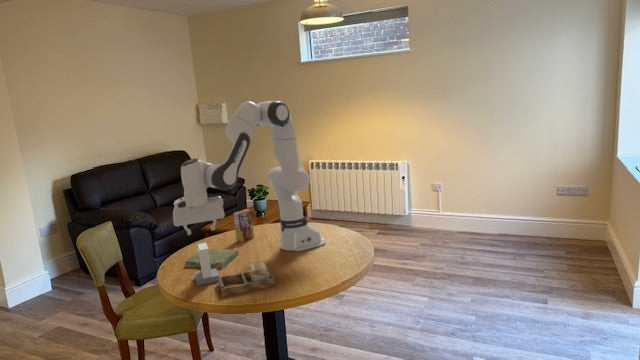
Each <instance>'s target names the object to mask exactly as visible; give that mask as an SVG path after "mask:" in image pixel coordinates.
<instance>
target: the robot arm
mask: <svg viewBox="0 0 640 360" xmlns="http://www.w3.org/2000/svg"><path fill="white" fill-rule="evenodd" d="M257 126H258V127H261V126H262V127H270V129H271V135H272V136H271V137H272V138H271V139H272V146H273V147H272V148H273V156H274V157H275V159H276V160H277V161H278V164H279V166H275V167H273V168H271V169H270V170H269V172H268V174H267V181H268V184H270V186H271V187H272V190H274V194H275V196H276V199H277V203H278V207H279V216H280V217H279V229H280V233H281V234H280V235H281V237H280V244H279V248H280V249H281V250H284V251H295V252H301V251H306V250H310V249H314V248H317V247H321V246H325V245H326V243H327V242H326V239H325V238H324V237H322V236H321V233H320V231H319V230H318V229H317V228H316V227H315V226H313V225H312V224H310V222H311V219H310V218H309V217H306V216H305V215H304V210H303V202H302V199H301V198H300V197H299V196H298V192H303V191H305V190H306V189H308V187H309V185H310V181H311V177H310V175H309V173H308V172H307V171H306V170H305V168H304V166H303V164H302V162H301V159H300V156H299V153H298V151H299V150H298V143H297V134H296V127H295V125H294V121H293V118H292V117H291V116H290V109H289V108H288V106H287V104H286V103H285V102H283V101H280V100H265V101H261V102H260V101H259V102H253V101H245V102H242V103H241V105H240V106H238V108H237V109H236V110H235V112H234V113H233V114H232V116H231V117H230V120H229V121H228V123H227V125H226V128H225V135H226V137H227V139H228V140H229V141H230V142H232V147H231V149H230V151H229V153H228V156H227V158H226V159H225V161H224V162H223V163H221V164H217V163H210V162H205V161H203V160H201V159H200V158H191V159H188V160H185V161H184V162H183V163H182V164H181V166H180V176H181V177H180V178H181V184H182V187H183V190H184V191H183V196H182V197H179V198H177V199H176V200H174V202H173V206H174V208H173V210H172V219H173V225H174V226H175V227H180V226H183V229H184V230H185V231H186V232H187V236H192V230H191V229H189V228H188V225H193V224H199V223H204V222H209V221H212V222H213V223H212V225H210V230H211V232H214V231H216V228H215V227H216V225H217V220H222V219H224V218H225V216H226V215H225V210H224V199H223V197H221V196H219V195H216V196H211V197H208V192H207V189H208V188H213V189H218V190H220V191H229V190H231V189H233V188H234V187H235V185H236V183H237V181H238V176H239V173H240V172H239V171H240V169H241V166H242V164H243V162H244V161H245V158H246V154H247V153H248V150H249V148H250V144H251V137H252V135H253V133H254V131H255V130H256V128H257Z"/></svg>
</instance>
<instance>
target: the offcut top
mask: <svg viewBox="0 0 640 360" xmlns="http://www.w3.org/2000/svg"><path fill="white" fill-rule="evenodd" d="M266 267H267V266H266V264H265V262H258V263H251V264H250V270H251V272H252V275H253V277H255V276H261V275H267V269H266Z"/></svg>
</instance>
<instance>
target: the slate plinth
mask: <svg viewBox="0 0 640 360" xmlns="http://www.w3.org/2000/svg"><path fill="white" fill-rule="evenodd" d="M217 269H218V268H212V269H211V273H212V277H208V278H203V276H202V271H201V270H200V271H195V272H194V277H195V284H196V287H198V286H202V285H208V284H213V283H219V281H218V277H220V276H219V273H218V271H217Z"/></svg>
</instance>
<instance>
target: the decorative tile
mask: <svg viewBox="0 0 640 360" xmlns="http://www.w3.org/2000/svg"><path fill="white" fill-rule="evenodd" d="M208 250H209V258H210V266H211V268H212V269H215V268H216V269H219V268H221V269H224V268H226V267H227V266H228V265H229V264H230V263H232V262H233V261H234V260H235V259H236V258H237V257H238V256H239V253H240V252H239V249H223V248H222V249H215V248H214V249H208ZM183 267H184V268H185V267H191V268H196V267H201V264H200V257H199V250H198V251H196V252H195V253H194V254H192V255H191V256H190V257H188V258H187V259H186V260H185V261H184V266H183Z"/></svg>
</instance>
